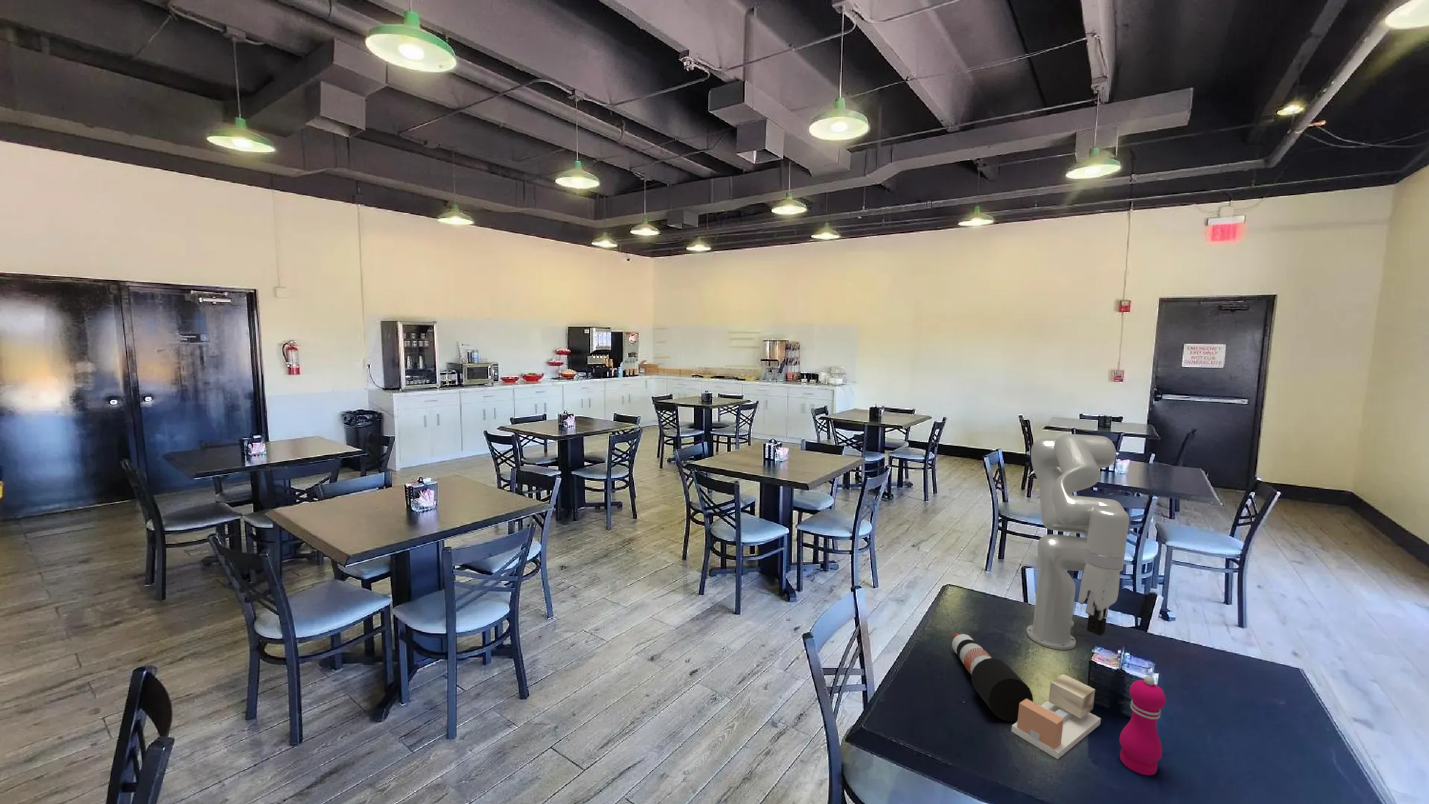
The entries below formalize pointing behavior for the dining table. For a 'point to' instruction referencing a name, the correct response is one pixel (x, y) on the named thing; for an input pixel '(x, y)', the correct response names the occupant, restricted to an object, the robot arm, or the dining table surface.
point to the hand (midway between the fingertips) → (1095, 632)
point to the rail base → (1068, 731)
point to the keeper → (1071, 695)
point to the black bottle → (992, 678)
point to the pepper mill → (1143, 728)
